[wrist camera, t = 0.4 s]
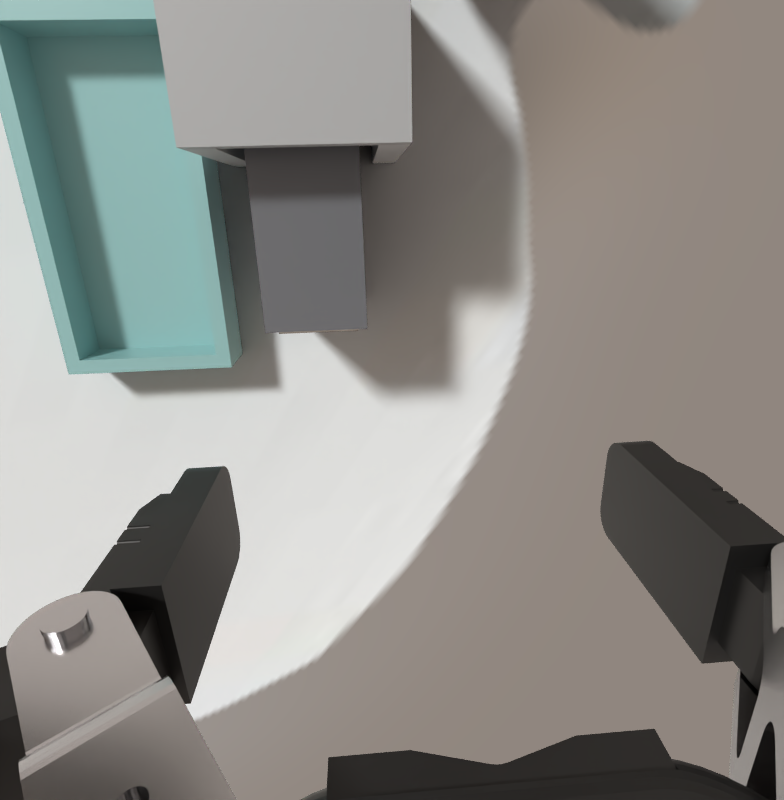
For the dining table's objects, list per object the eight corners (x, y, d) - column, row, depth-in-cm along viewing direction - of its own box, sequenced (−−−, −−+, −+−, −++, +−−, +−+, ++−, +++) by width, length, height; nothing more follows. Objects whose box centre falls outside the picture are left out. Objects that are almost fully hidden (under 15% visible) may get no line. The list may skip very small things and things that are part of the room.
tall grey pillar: (262, 65, 28) (227, 14, 21) (354, 63, 28) (352, 12, 21) (287, 308, 33) (265, 338, 25) (365, 305, 33) (367, 334, 26)
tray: (13, 22, 27) (-29, -1, 24) (198, 20, 27) (178, -2, 24) (94, 359, 33) (68, 374, 30) (242, 353, 33) (231, 367, 31)
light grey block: (212, -16, 27) (130, -143, 17) (390, -17, 27) (409, -141, 17) (235, 166, 30) (176, 147, 20) (394, 163, 30) (412, 142, 20)
